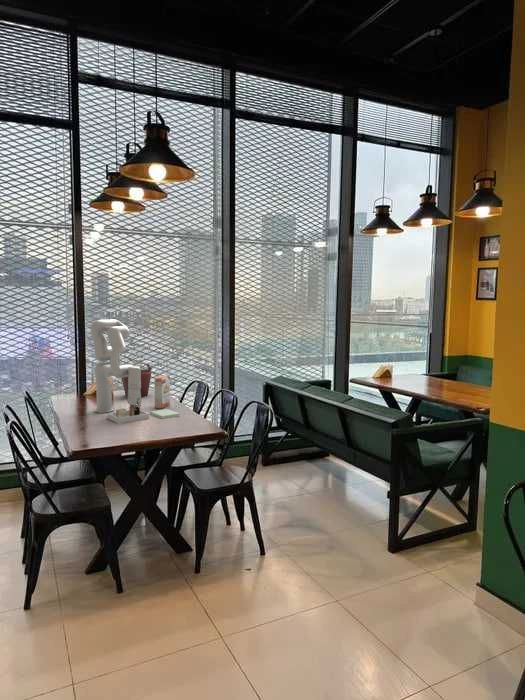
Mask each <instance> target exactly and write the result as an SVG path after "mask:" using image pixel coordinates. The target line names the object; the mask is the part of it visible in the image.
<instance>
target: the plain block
mask: <svg viewBox="0 0 525 700" xmlns="http://www.w3.org/2000/svg"><path fill="white" fill-rule="evenodd" d="M127 411H128V410H127V409H126V408H117V409H115V412H116V417H118V418H122V417H127Z"/></svg>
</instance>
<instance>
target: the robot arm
mask: <svg viewBox="0 0 525 700" xmlns="http://www.w3.org/2000/svg"><path fill="white" fill-rule="evenodd" d="M90 333H91V336H92V341H93V348H94V349H93V350H94V357H95V360H96V361H97V362H98V361H99V362H100V363H98V364H96V365H94V369H93V372H94V376H95V377H94V378H95V388H96V390H95V391H96V392H95V393H96V408H95V409H94V412H95V413H101V414H103V413H113V412H115V411H116V409H115V407H114V406H113V394H112V393H113V392H112V391H113V390H112V382H111V380H110V379H109V378H111V377H115V378H117V379H122V378H123V377H128V397H127V404H129V407H131V406H135V410H134V415H140V410H141V407H142V397H141V392H140V389H141V367H140V366H137V365H130V364H123V365H122V364H121V356H120V354H122V353H124V352H125V351H126V350H127V346H126V342H125V340H126V339H129V337H130V335H131V333H130V330H129V328H128V326H127V325H125V324H124V323H122V322H121V321H120V320H117V319H112V318H111V319H110V318H109V319H97V320H95V321H93V322H91V325H90ZM105 334H106V335H105ZM106 336H107V337H108V338H107V337H106ZM108 340H109V344H110V345H108ZM105 361H107V362H105ZM108 361H109V362H108ZM101 362H102V363H101ZM136 406H137V407H136Z"/></svg>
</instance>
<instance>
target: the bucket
mask: <svg viewBox="0 0 525 700" xmlns="http://www.w3.org/2000/svg"><path fill="white" fill-rule="evenodd" d="M129 365H134V366H136V365H145V366H146V367H147V369H141V368H140V369H141V389H140V392H141V398H146V397H149V391H150V390H149V389H150V383H151V378H152V371H153V367H152V366H150V364H149V363H147V362H146V363H145V362H134V363H130V364H129ZM121 382H122V386H123V390H124V394H125V397H127V398H128V377H123V378H121ZM145 396H146V397H145Z"/></svg>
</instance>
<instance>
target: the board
mask: <svg viewBox="0 0 525 700" xmlns="http://www.w3.org/2000/svg"><path fill="white" fill-rule="evenodd" d="M149 415H153V416H155V417H157V418H159V419H167V418H168V419H169V418H178V417H177V416H179V417H180V413H179V412H178V411H174V410H171V409H168V408H162V409H158V410H152V411H149Z"/></svg>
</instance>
